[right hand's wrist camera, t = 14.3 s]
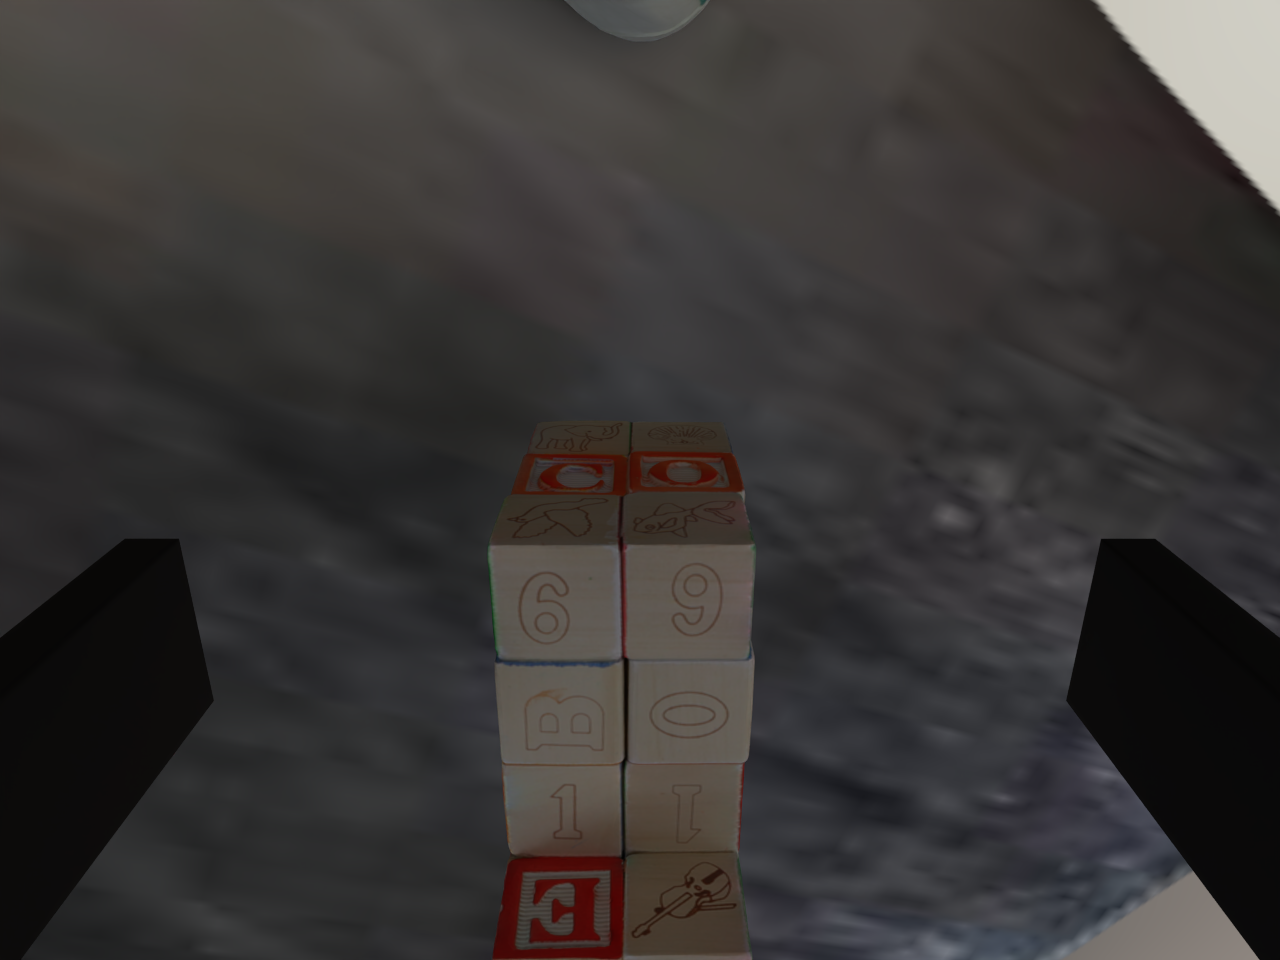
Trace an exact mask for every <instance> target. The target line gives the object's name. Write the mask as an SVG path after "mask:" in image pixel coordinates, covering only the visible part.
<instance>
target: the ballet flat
mask: <svg viewBox="0 0 1280 960" xmlns="http://www.w3.org/2000/svg"><path fill="white" fill-rule="evenodd" d="M564 1H565V2H566V3H568V4H569V5H570V6H571V7H572V8H573V9H574V10H575V11H576V12H577V13H578V14H580V15H581V16H582V17H583V18H585V19H586V20H587V21H588V22H590V23H591V24H593V25H595V26H596V27H597V28H598V29H600V30H601V31H603V32H605V33H608V34H611V35H614V36H616V37H619V38H621V39H624V40H629V41H633V42H648V41H655V40H659V39H662V38H665V37H668V36H670V35H671V34H673V33H675V32H677V31H679V30H680V29H682V28H683V27H685V26H686V25H687V24H688V23H689V22H691V21H692V20H693V19H694V18H695V17H696V16H697V15H698V14H699V13H700V12H701V11H702V10H703V9H704V8H705V6H706V5H707V4H708V2H709V1H710V0H564Z"/></svg>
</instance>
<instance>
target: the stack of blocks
mask: <svg viewBox="0 0 1280 960" xmlns="http://www.w3.org/2000/svg"><path fill="white" fill-rule="evenodd" d="M744 502H745V490H744V485H743V481H742V478H741V474H740V470H739V467H738V465H737V461H736V458H735V456H734V455H733V451H732V446H731V444H730V441H729V437H728V435H727V431H726V427H725V424H724V423H722V422H707V423H703V422H634V423H631V422H627V421H555V422H541V423H538V424H537V426H536V428H535V430H534V433H533V436H532V438H531V442H530V445H529V448H528V452H527V454H526V455H524V457H523V460H522V463H521V466H520V468H519V471H518V474H517V477H516V480H515V483H514V486H513V489H512V493H511V495H509V496H507V497H506V498H505V499H504V501H503V504H502V506H501V510H500V512H499V514H498V517H497V520H496V523H495V526H494V528H493V531H492V534H491V537H490V540H489V543H488V555H487V559H488V568H489V581H490V593H491V604H492V621H493V633H494V640H495V649H496V652H497V656H496V660H495V683H496V695H497V709H498V721H499V733H500V746H501V758H502V781H503V796H504V807H505V816H506V827H507V838H508V845H509V849H510V851H511V855H510V858H509V860H508V863H507V870H506V875H505V880H504V890H503V896H502V901H501V906H500V911H499V918H498V924H497V931H496V938H495V943H494V950H493V957H492V960H752V952H751V945H750V939H749V932H748V924H747V915H746V908H745V900H744V892H743V884H742V876H741V869H740V863H739V857H738V852H739V846H740V828H741V811H742V794H743V780H744V762H745V761H746V760H747V759H748V756H749V744H750V732H751V719H752V702H753V682H754V652H753V648H752V643H751V629H752V611H753V595H754V579H755V561H756V545H755V540H754V537H753V534H752V528H751V525H750V522H749V519H748V516H747V512H746V508H745V504H744Z"/></svg>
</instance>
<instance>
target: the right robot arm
mask: <svg viewBox="0 0 1280 960" xmlns="http://www.w3.org/2000/svg"><path fill="white" fill-rule="evenodd" d="M213 701H214V700H213V695H212V690H211V686H210V681H209V677H208V672H207V667H206V663H205V658H204V653H203V649H202V644H201V640H200V635H199V630H198V626H197V621H196V616H195V612H194V607H193V602H192V598H191V593H190V589H189V584H188V579H187V575H186V570H185V565H184V561H183V556H182V552H181V547H180V542H179V539H124V540H123V541H122V542H120V543H119V544H118V545H117V546H115V547H114V548H113V549H112V550H110V551H109V552H108V553H106V554H105V555H104V556H103V557H101V558H100V559H99V560H98V561H96V562H95V563H94V564H93V565H91V566H90V567H89V568H88V569H86V570H85V571H84V572H83V573H81V574H80V575H79V576H78V577H76V578H75V579H74V580H73V581H71V582H70V583H69V584H68V585H66V586H65V587H64V588H62V589H61V590H60V591H59V592H57V593H56V594H55V595H54V596H52V597H51V598H50V599H49V600H47V601H46V602H45V603H44V604H42V605H41V606H40V607H39V608H37V609H36V610H35V611H34V612H32V613H31V614H30V615H29V616H27V617H26V618H25V619H23V620H22V621H21V622H20V623H18V624H17V625H16V626H15V627H13V628H12V629H11V630H10V631H8V632H7V633H6V634H5V635H3V636H2V637H1V638H0V960H21V958H22V957H23V956H24V954H25V953H26V952H27V950H28V949H29V948H30V946H31V945H32V944H33V942H34V941H35V940H36V938H37V937H38V936H39V934H40V933H41V932H42V930H43V929H44V928H45V926H46V925H47V923H48V922H49V921H50V919H51V918H52V917H53V915H54V914H55V913H56V911H57V910H58V909H59V907H60V906H61V905H62V903H63V902H64V901H65V899H66V898H67V897H68V895H69V894H70V893H71V891H72V890H73V889H74V887H75V886H76V885H77V883H78V882H79V881H80V879H81V878H82V877H83V875H84V874H85V873H86V871H87V870H88V869H89V867H90V866H91V864H92V863H93V862H94V860H95V859H96V858H97V856H98V855H99V854H100V852H101V851H102V850H103V848H104V847H105V846H106V844H107V843H108V842H109V840H110V839H111V838H112V836H113V835H114V834H115V832H116V831H117V830H118V828H119V827H120V826H121V824H122V823H123V822H124V820H125V819H126V818H127V816H128V815H129V814H130V812H131V811H132V810H133V808H134V807H135V806H136V804H137V803H138V801H139V800H140V799H141V797H142V796H143V795H144V793H145V792H146V791H147V789H148V788H149V787H150V785H151V784H152V783H153V781H154V780H155V779H156V777H157V776H158V775H159V773H160V772H161V771H162V769H163V768H164V767H165V765H166V764H167V763H168V761H169V760H170V759H171V757H172V756H173V755H174V753H175V752H176V751H177V749H178V748H179V747H180V745H181V744H182V742H183V741H184V740H185V738H186V737H187V736H188V734H189V733H190V732H191V730H192V729H193V728H194V726H195V725H196V724H197V722H198V721H199V720H200V718H201V717H202V716H203V714H204V713H205V712H206V710H207V709H208V708H209V706H210V705H211V704H212V702H213ZM1066 701H1067V702H1068V704H1069V705H1070V706H1071V708H1072V709H1073V710H1074V712H1075V713H1076V714H1077V716H1078V717H1079V718H1080V720H1081V721H1082V722H1083V724H1084V725H1085V726H1086V728H1087V729H1088V730H1089V732H1090V733H1091V734H1092V736H1093V737H1094V738H1095V740H1096V741H1097V742H1098V744H1099V745H1100V747H1101V748H1102V749H1103V751H1104V752H1105V753H1106V755H1107V756H1108V757H1109V759H1110V760H1111V761H1112V763H1113V764H1114V765H1115V767H1116V768H1117V769H1118V771H1119V772H1120V773H1121V775H1122V776H1123V777H1124V779H1125V780H1126V781H1127V783H1128V784H1129V785H1130V787H1131V788H1132V789H1133V791H1134V792H1135V793H1136V795H1137V796H1138V797H1139V799H1140V800H1141V801H1142V803H1143V804H1144V806H1145V807H1146V808H1147V810H1148V811H1149V812H1150V814H1151V815H1152V816H1153V818H1154V819H1155V820H1156V822H1157V823H1158V824H1159V826H1160V827H1161V828H1162V830H1163V831H1164V832H1165V834H1166V835H1167V836H1168V838H1169V839H1170V840H1171V842H1172V843H1173V844H1174V846H1175V847H1176V848H1177V850H1178V851H1179V852H1180V854H1181V855H1182V856H1183V858H1184V859H1185V860H1186V862H1187V863H1188V864H1189V866H1190V867H1191V869H1192V870H1193V871H1194V873H1195V874H1196V875H1197V877H1198V878H1199V879H1200V881H1201V882H1202V883H1203V885H1204V886H1205V887H1206V889H1207V890H1208V891H1209V893H1210V894H1211V895H1212V897H1213V898H1214V899H1215V901H1216V902H1217V903H1218V905H1219V906H1220V907H1221V909H1222V910H1223V911H1224V913H1225V914H1226V915H1227V917H1228V918H1229V919H1230V921H1231V922H1232V923H1233V925H1234V926H1235V928H1236V929H1237V930H1238V931H1239V933H1240V934H1241V936H1242V937H1243V938H1244V940H1245V941H1246V942H1247V943H1248V945H1249V946H1250V948H1251V949H1252V950H1253V952H1254V953H1255V954H1256V956H1257V957H1258V958H1259V960H1280V638H1279V637H1278V636H1277V635H1275V634H1274V633H1273V632H1272V631H1270V630H1269V629H1268V628H1267V627H1265V626H1264V625H1263V624H1262V623H1260V622H1259V621H1258V620H1257V619H1255V618H1254V617H1253V616H1251V615H1250V614H1249V613H1248V612H1246V611H1245V610H1244V609H1243V608H1241V607H1240V606H1239V605H1238V604H1236V603H1235V602H1234V601H1233V600H1231V599H1230V598H1229V597H1228V596H1226V595H1225V594H1224V593H1223V592H1221V591H1220V590H1219V589H1218V588H1216V587H1215V586H1214V585H1212V584H1211V583H1210V582H1209V581H1207V580H1206V579H1205V578H1204V577H1202V576H1201V575H1200V574H1199V573H1197V572H1196V571H1195V570H1194V569H1192V568H1191V567H1190V566H1189V565H1187V564H1186V563H1185V562H1184V561H1182V560H1181V559H1180V558H1179V557H1177V556H1176V555H1175V554H1174V553H1172V552H1171V551H1170V550H1168V549H1167V548H1166V547H1165V546H1163V545H1162V544H1161V543H1160V542H1158V541H1157V540H1156V539H1101V542H1100V547H1099V552H1098V556H1097V561H1096V565H1095V570H1094V575H1093V579H1092V584H1091V589H1090V593H1089V598H1088V602H1087V607H1086V612H1085V616H1084V621H1083V626H1082V630H1081V635H1080V640H1079V644H1078V649H1077V653H1076V658H1075V663H1074V667H1073V672H1072V677H1071V681H1070V686H1069V690H1068V695H1067V700H1066Z"/></svg>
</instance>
